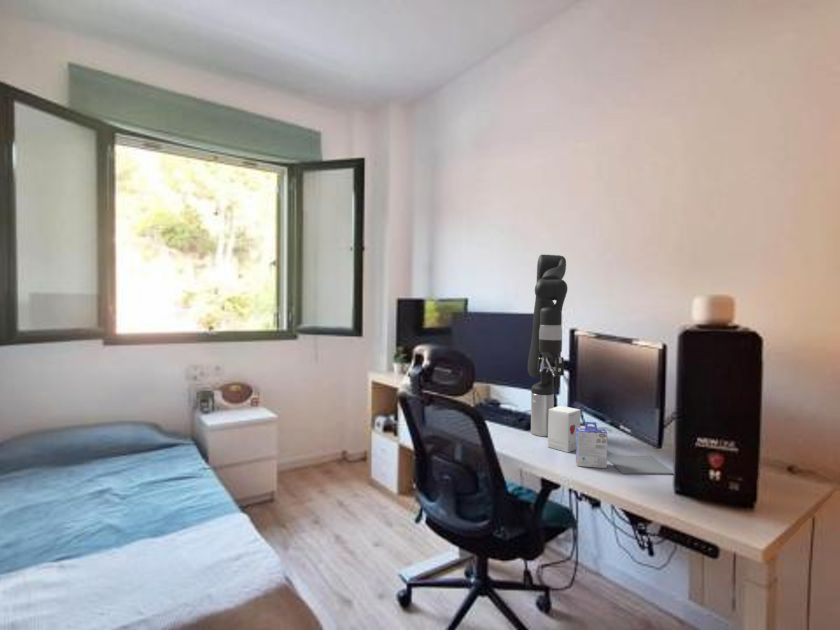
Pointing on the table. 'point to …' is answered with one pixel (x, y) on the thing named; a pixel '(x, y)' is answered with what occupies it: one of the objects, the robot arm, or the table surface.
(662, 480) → the table surface
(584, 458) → the ink cartridge box
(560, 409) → the supplement box
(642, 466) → the mat
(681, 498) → the table surface
